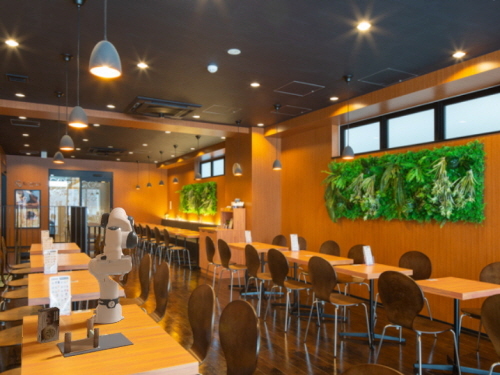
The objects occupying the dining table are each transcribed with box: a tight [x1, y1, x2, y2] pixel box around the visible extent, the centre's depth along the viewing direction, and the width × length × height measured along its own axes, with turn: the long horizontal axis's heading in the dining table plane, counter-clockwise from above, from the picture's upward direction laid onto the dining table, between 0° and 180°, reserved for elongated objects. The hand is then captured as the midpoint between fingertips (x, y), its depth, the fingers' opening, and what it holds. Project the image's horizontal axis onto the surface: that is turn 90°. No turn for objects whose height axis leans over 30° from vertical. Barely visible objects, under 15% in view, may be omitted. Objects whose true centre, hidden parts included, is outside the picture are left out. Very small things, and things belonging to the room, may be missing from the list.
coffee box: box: [36, 306, 61, 344], centre depth 203 cm, size 9×6×16 cm
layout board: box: [56, 332, 134, 358], centre depth 196 cm, size 22×32×1 cm
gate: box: [86, 318, 94, 345], centre depth 198 cm, size 3×14×10 cm, turn 34°
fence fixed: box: [63, 327, 100, 354], centre depth 187 cm, size 3×16×9 cm, turn 125°
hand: (112, 280), depth 214 cm, fingers open, 8 cm apart
